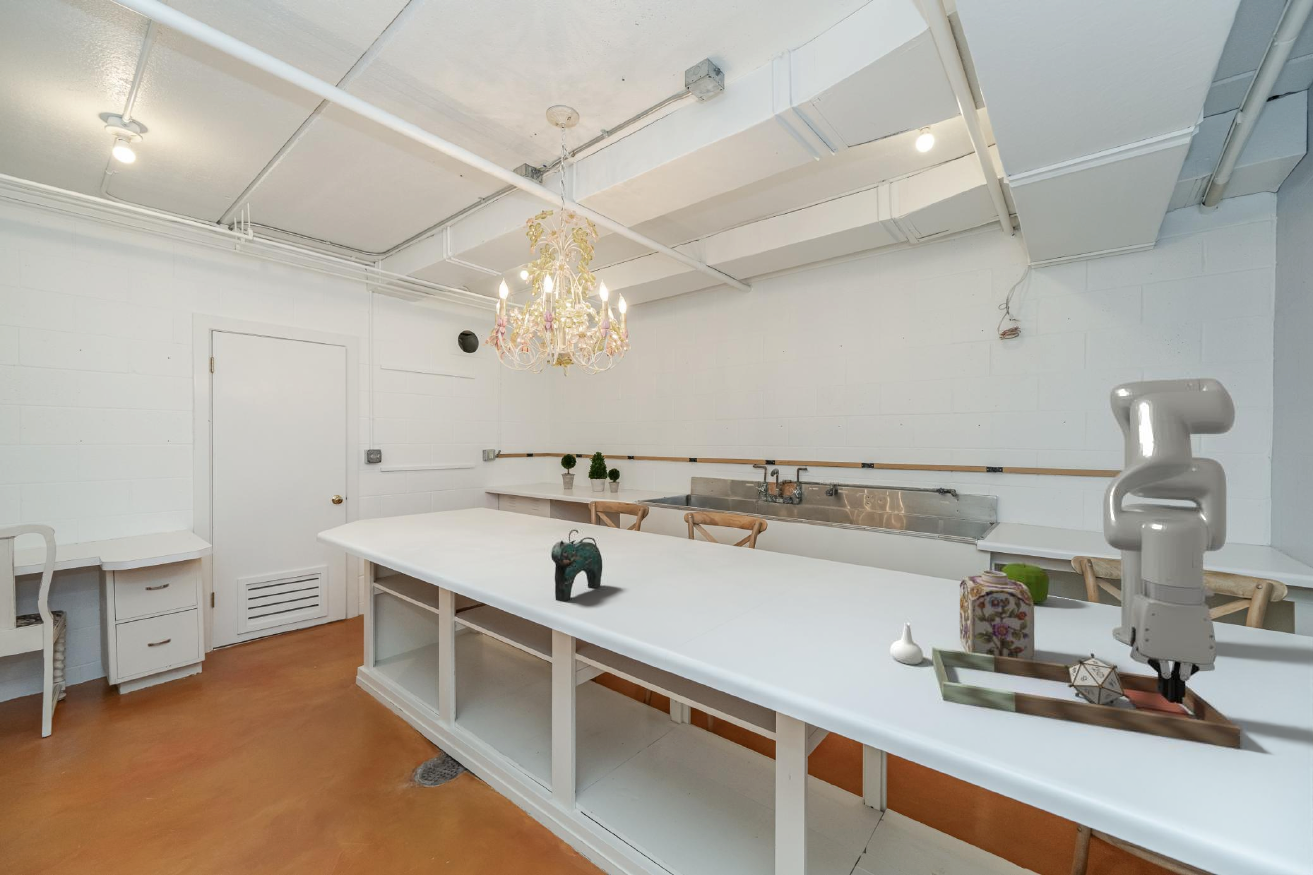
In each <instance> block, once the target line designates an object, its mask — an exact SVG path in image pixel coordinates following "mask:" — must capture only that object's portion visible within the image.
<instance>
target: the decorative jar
mask: <svg viewBox="0 0 1313 875" xmlns="http://www.w3.org/2000/svg"><path fill="white" fill-rule="evenodd" d="M959 640H960V643H961V644H962V647H963V649H964V650H965V651H964V652H971V653H979V654H987V655H994V656H1002V657H1010V658H1017V659H1025V660H1033V661H1035V603H1033V598H1032V596H1031V595H1030V591H1029V589H1028V588H1027V587H1026V586H1025V585H1024V584H1023V583H1020V582H1017V581H1014V580H1010V579H1007V574H1005V573H1002V571H997V570H982V571H981V575H969V576H966V577H963V578H962V580H961V581H960V583H959Z"/></svg>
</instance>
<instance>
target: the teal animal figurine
mask: <svg viewBox="0 0 1313 875" xmlns="http://www.w3.org/2000/svg"><path fill="white" fill-rule="evenodd" d="M573 532H576V533H577V534H579V530H577V529H571V530H570V531H569V533H568V541H569V542H565V541H563V539H561V540H560V541H558V542H555V544H554V545H553V546H552V548H551V553H550V554H551V561H553V562H554V564H555V565H554V566H555V568H554V569H555V570H554V583H555V584H554V585H555V586H554V587H555V588H554V595H555V600H556V601H558V602H563V603H565V602H567V601H570V600H571V596H572V588H573V584H574V583H575V578H576V577H577V576H578V575H579V573H581V572H584V573H585V575H586V580H587V588H589V589H599V588H600V587H601V585H602V584H601V582H602V574H603V557H602V554H601V551H600V549H599V548H598V546H597V542H596V539H595V538H593V537H589V536H588V537H584V538H582V539H581V540H579V541H576V540H575V539H574V540H571V534H572V533H573ZM585 540H592V541H593V542H594V543H593V542H589V541H585Z"/></svg>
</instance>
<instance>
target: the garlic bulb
mask: <svg viewBox="0 0 1313 875" xmlns="http://www.w3.org/2000/svg"><path fill="white" fill-rule="evenodd" d="M903 624H904V626H903V630H902V636H901V639H898V640H896V641H894V642H893V643H892V644H891V646H890V648H889V649H890V650H889V651H890V652H889V653H890V656H891V657H892V659H893V660H895V661H896V662H898V663H901V664H904V663H905V664H906V665H912V666H913V665H918V664H921V663H922V662H923V659H924V654H923V650H922V649H921V647H920V646H919V645H918V644H917V643H916V642H914V640H913V636H912V630H911V623H909V622H903Z"/></svg>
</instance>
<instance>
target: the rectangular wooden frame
mask: <svg viewBox="0 0 1313 875" xmlns="http://www.w3.org/2000/svg"><path fill="white" fill-rule="evenodd" d="M931 651H932V652H931V653H932V654H931V655H932V656H931V657H932V659H931V660H932V665H933V669H934V672H935V675H936V679H937V683H938V687H939V691H940V693H941V697H942V700H943V701H947V702H952V703H957V704H965V705H970V706H978V707H983V708H990V709H996V710H1002V711H1006V712H1007V711H1009V712H1014V713H1019V714H1026V715H1033V716H1038V717H1044V718H1051V719H1057V720H1058V719H1059V720H1062V721H1063V720H1064V721H1070V722H1075V723H1082V724H1087V725H1093V726H1094V725H1095V726H1101V727H1106V728H1112V729H1119V730H1125V731H1129V732H1130V731H1131V732H1137V733H1144V734H1150V735H1155V736H1161V737H1167V738H1172V739H1173V738H1174V739H1180V740H1187V741H1192V742H1199V743H1205V744H1210V745H1215V746H1216V745H1217V746H1222V747H1229V748H1235V749H1241V728H1240V727H1238V725H1236V724H1235V723H1233V722H1232V721H1231V720H1230V719H1228V717H1226V716H1224V715H1223V713H1221V712H1220V711H1219V710H1217V709H1216V708H1215V707H1214V706H1212V705H1211V704H1210V703H1209V702H1207V701H1206V700H1205V699H1204V698H1202V697H1201V696H1200V695H1198V694H1197V693H1196V692H1195V691H1193V690H1192V689H1191V688H1190V687H1189V686H1187V685H1186V684H1185V697H1183V703H1182V704H1178V703H1176V702H1174V703H1170V702H1168V701H1167V700H1166V699H1165V698H1164V697H1163V696H1162V695H1161V694H1160V693H1159V691H1158V676H1154V675H1145V674H1139V673H1138V674H1137V673H1131V672H1124V671H1116V670H1115V672H1116V673H1117V675H1122V676H1123V678H1120V682H1121V685H1122V688H1123V691H1124V694H1125V695H1128V696H1129V697H1130V698H1131V699H1128V701H1129V702H1130V703H1131V704H1132V705H1133V706H1134V707H1135V708H1136V709H1139V710H1135V709H1129V708H1122V707H1117V706H1116V707H1115V706H1109V705H1104V704H1103V705H1097V704H1094V703H1089V702H1082V701H1075V700H1069V699H1063V698H1057V697H1056V698H1055V697H1050V696H1045V695H1044V696H1043V695H1036V694H1030V693H1029V694H1028V693H1023V692H1015V691H1009V690H1004V689H997V688H991V687H990V688H989V687H983V686H977V685H972V684H971V685H969V684H964V683H957V682H950V681H949V680H948V676H947V673H946V668H945V667H944V666H949V667H954V666H956V667H955V668H964V669H970V670H976V671H984V672H992V673H996V674H997V673H998V674H1004V675H1013V676H1019V677H1027V678H1034V679H1042V680H1048V681H1055V682H1062V683H1069V684H1072V683H1071V678H1070V673H1069V669H1068V668H1065V667H1064V665H1065V664H1062V663H1054V662H1047V661H1040V660H1039V661H1038V660H1034V661H1033V660H1025V659H1017V658H1010V657H1002V656H994V655H987V654H979V653H971V652H966V651H962V650H957V649H949V648H948V649H947V648H939V647H932V650H931ZM1066 665H1067V666H1068V667H1071V666H1072V665H1070V664H1066ZM1183 706H1184V707H1185V708H1186V709H1187V710H1188V711H1190V713H1192V715H1190V713H1189V712H1188V711H1187V710H1186V709H1184V707H1183ZM1193 715H1194V716H1195V717H1196V718H1198V719H1196V718H1195V717H1194V716H1193Z"/></svg>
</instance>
